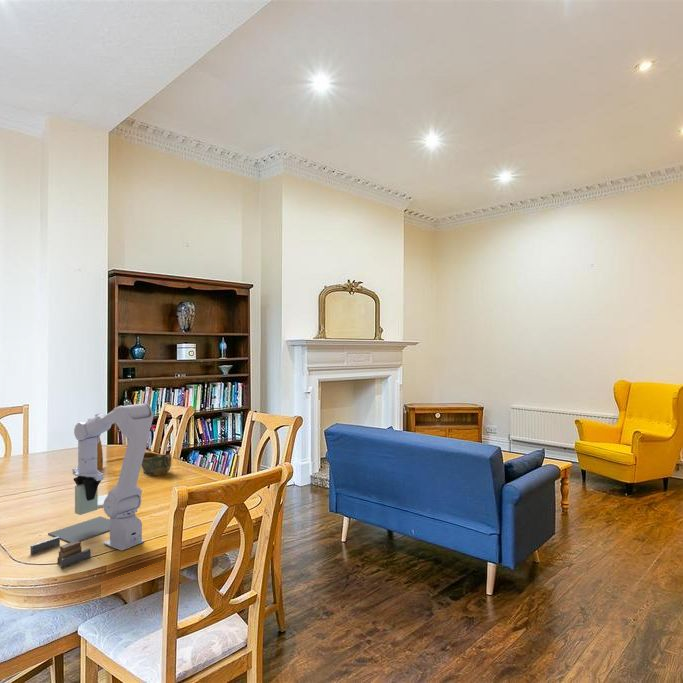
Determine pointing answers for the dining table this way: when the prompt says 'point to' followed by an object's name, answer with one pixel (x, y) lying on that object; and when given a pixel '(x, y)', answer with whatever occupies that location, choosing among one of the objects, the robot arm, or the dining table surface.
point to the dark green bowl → (156, 464)
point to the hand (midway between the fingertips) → (87, 498)
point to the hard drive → (101, 500)
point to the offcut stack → (69, 550)
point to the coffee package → (99, 455)
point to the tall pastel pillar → (84, 501)
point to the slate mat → (83, 530)
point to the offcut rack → (64, 561)
